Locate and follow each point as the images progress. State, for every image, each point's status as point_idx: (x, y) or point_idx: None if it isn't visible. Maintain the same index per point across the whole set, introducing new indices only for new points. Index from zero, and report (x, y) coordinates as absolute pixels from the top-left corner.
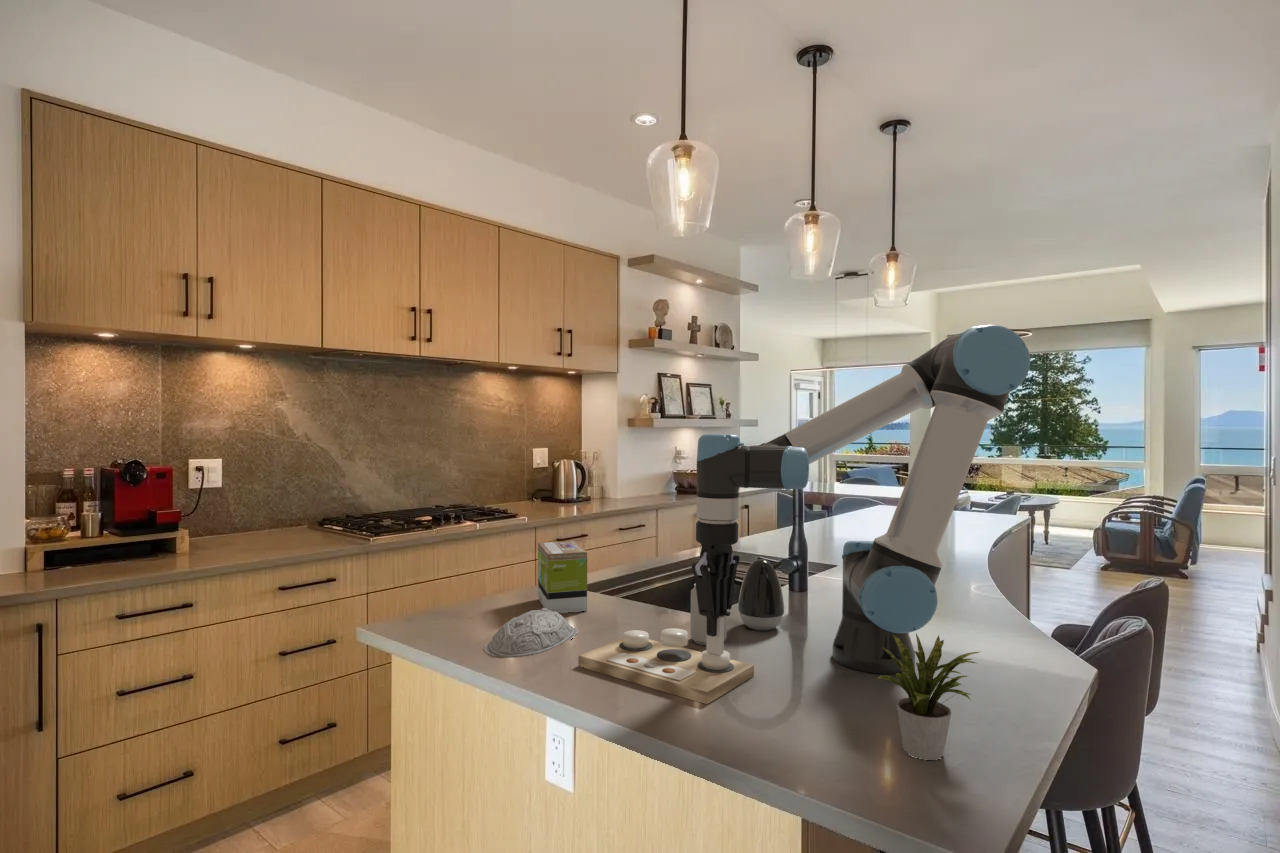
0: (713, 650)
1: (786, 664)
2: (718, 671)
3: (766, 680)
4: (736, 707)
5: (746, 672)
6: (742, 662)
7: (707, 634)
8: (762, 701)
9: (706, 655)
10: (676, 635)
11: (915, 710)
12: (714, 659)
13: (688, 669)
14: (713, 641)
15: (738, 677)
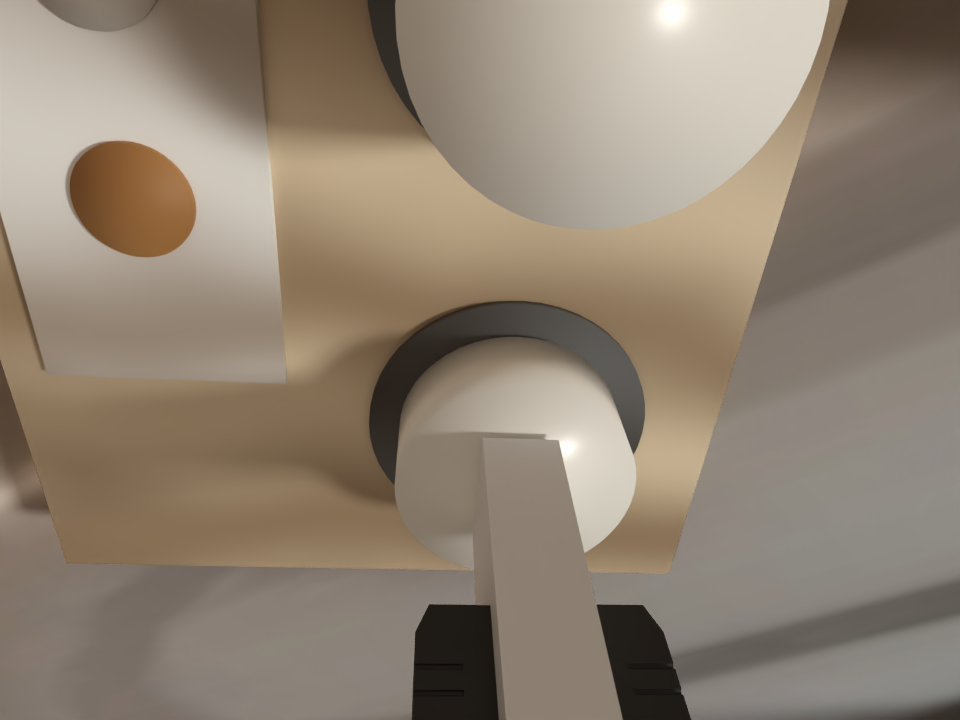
0: (479, 514)
1: (921, 568)
2: None
3: (623, 580)
4: (193, 608)
5: None
6: (684, 512)
7: (422, 620)
8: (347, 652)
9: (426, 457)
10: (484, 141)
11: None
12: (406, 517)
13: (314, 300)
14: (483, 577)
15: None
